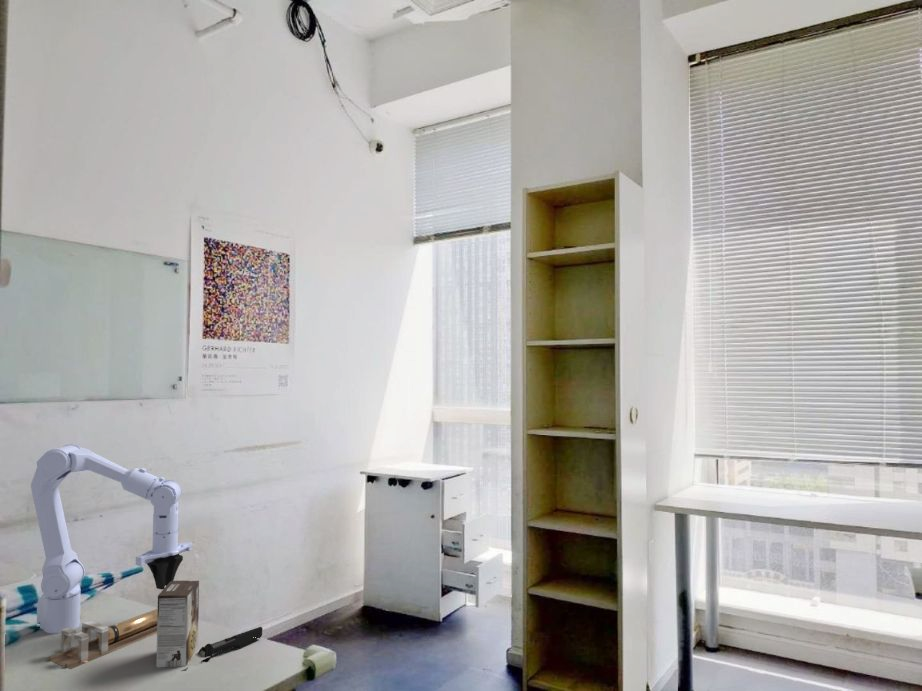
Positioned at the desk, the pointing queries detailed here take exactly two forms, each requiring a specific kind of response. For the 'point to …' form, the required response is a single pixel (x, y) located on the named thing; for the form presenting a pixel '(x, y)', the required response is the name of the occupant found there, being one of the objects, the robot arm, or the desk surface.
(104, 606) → the desk surface
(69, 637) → the board
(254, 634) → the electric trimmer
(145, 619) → the thermos bottle
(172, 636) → the coffee box
